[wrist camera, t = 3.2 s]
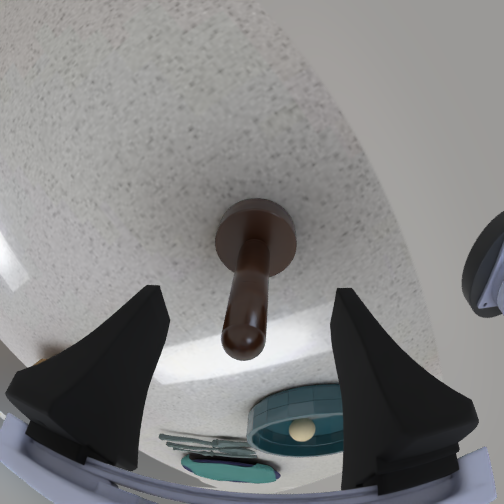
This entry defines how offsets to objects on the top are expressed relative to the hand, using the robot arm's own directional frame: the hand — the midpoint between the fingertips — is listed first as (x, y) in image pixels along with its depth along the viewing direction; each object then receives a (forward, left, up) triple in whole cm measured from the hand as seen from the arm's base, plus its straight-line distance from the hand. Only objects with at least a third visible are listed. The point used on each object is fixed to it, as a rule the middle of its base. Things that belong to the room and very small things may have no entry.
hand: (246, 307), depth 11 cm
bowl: (-6, +24, -6) cm, 25 cm away
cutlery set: (+7, +48, -6) cm, 48 cm away
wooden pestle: (0, 0, -6) cm, 6 cm away
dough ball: (-5, +24, -4) cm, 24 cm away
